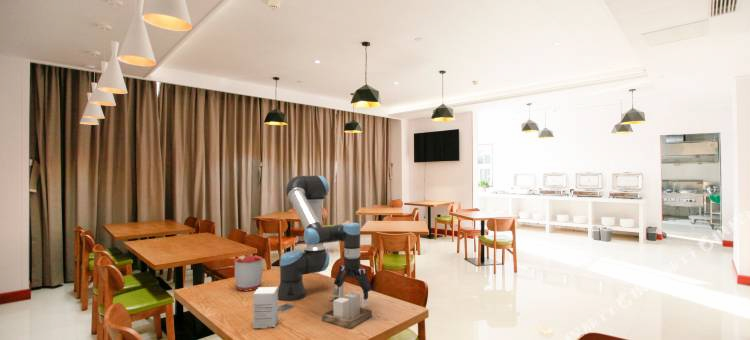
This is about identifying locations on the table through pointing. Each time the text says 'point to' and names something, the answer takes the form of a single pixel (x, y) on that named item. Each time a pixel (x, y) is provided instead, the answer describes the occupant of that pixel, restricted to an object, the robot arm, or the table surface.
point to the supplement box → (265, 307)
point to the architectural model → (335, 293)
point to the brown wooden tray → (347, 324)
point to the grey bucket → (248, 272)
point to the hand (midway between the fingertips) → (352, 303)
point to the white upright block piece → (353, 304)
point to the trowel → (285, 307)
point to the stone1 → (341, 308)
